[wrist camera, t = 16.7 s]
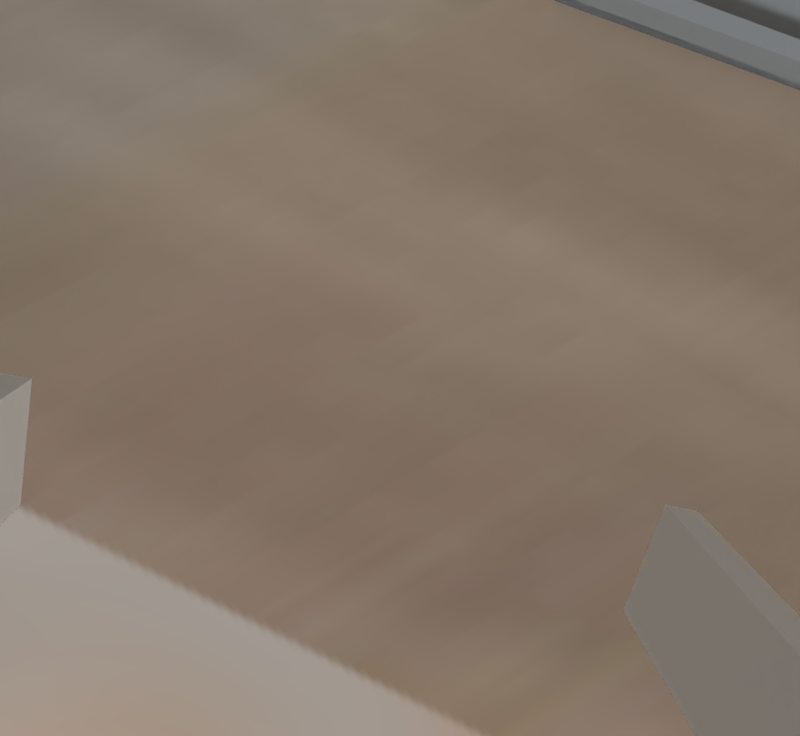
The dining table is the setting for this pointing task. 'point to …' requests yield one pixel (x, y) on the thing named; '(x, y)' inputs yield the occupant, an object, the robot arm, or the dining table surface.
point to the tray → (718, 29)
